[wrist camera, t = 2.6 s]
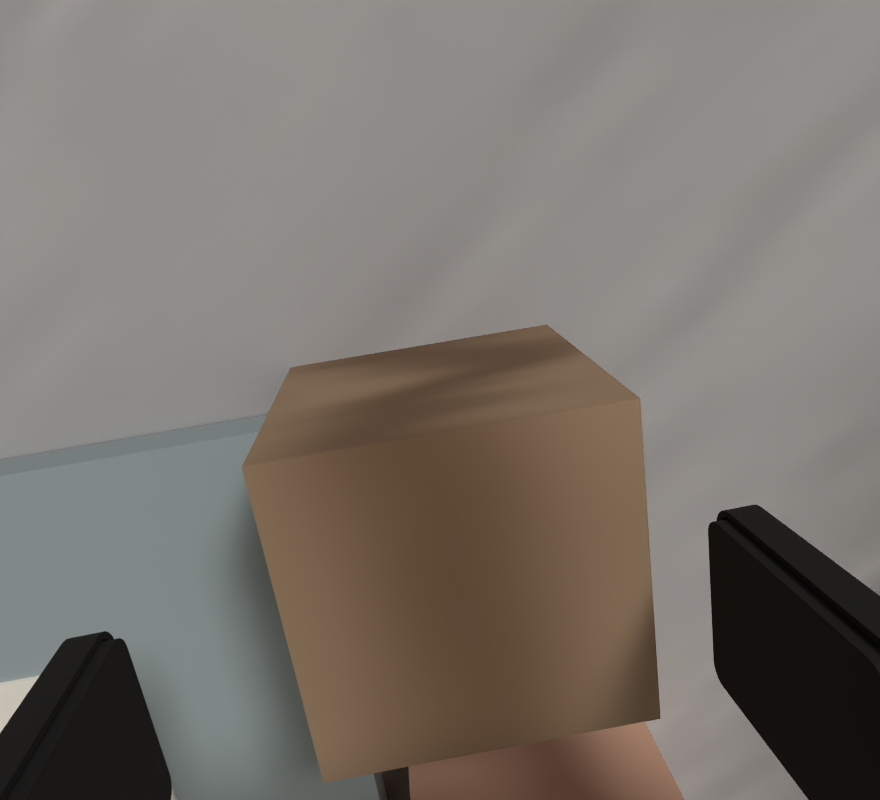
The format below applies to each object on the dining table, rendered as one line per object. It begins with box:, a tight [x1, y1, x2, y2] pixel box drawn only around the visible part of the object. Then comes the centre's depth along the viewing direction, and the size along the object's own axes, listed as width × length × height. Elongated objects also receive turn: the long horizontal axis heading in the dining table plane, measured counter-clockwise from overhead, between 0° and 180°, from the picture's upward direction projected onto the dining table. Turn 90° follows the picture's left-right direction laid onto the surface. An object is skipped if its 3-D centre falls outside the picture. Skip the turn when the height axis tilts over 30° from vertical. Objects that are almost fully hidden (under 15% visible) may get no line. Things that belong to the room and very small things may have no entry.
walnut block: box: [242, 325, 660, 783], centre depth 14 cm, size 6×6×6 cm
